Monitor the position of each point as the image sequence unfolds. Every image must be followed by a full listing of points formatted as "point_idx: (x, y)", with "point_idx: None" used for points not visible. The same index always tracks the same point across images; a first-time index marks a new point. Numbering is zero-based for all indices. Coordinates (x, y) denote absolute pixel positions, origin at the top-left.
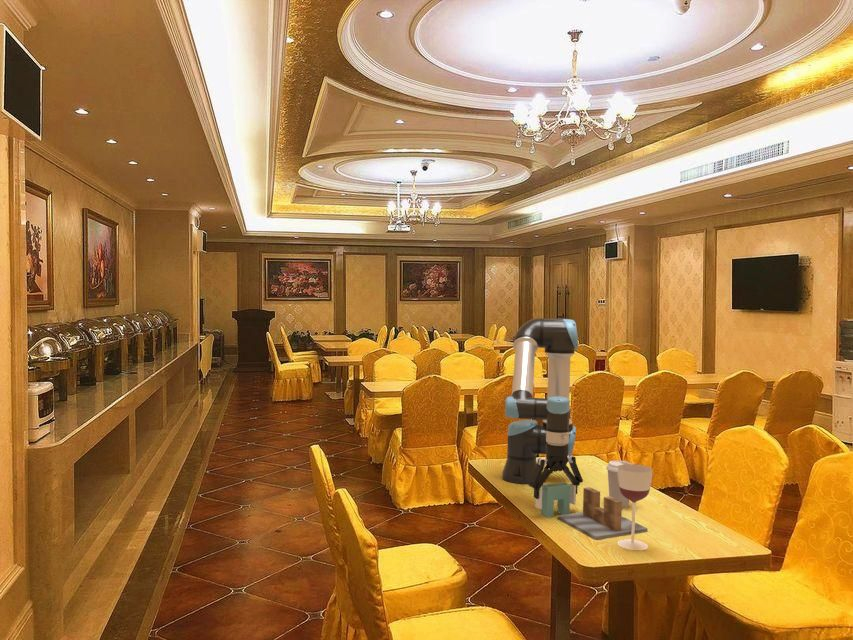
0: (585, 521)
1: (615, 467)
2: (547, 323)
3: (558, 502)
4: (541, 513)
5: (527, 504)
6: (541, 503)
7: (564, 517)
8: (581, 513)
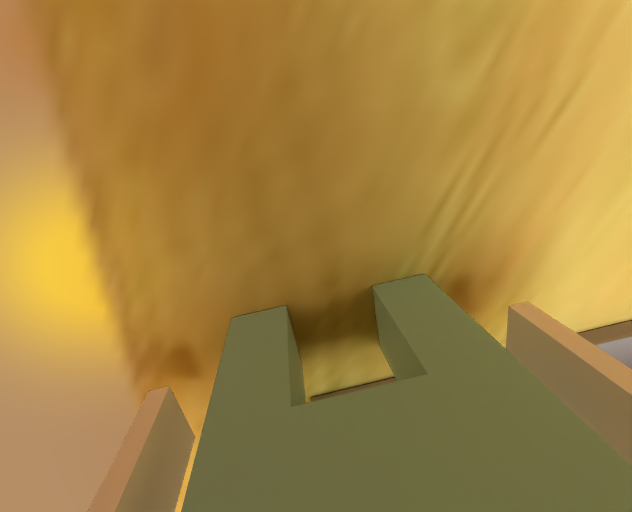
0: None
1: None
2: None
3: (401, 342)
4: (231, 325)
5: (172, 33)
6: (176, 489)
7: None
8: None
